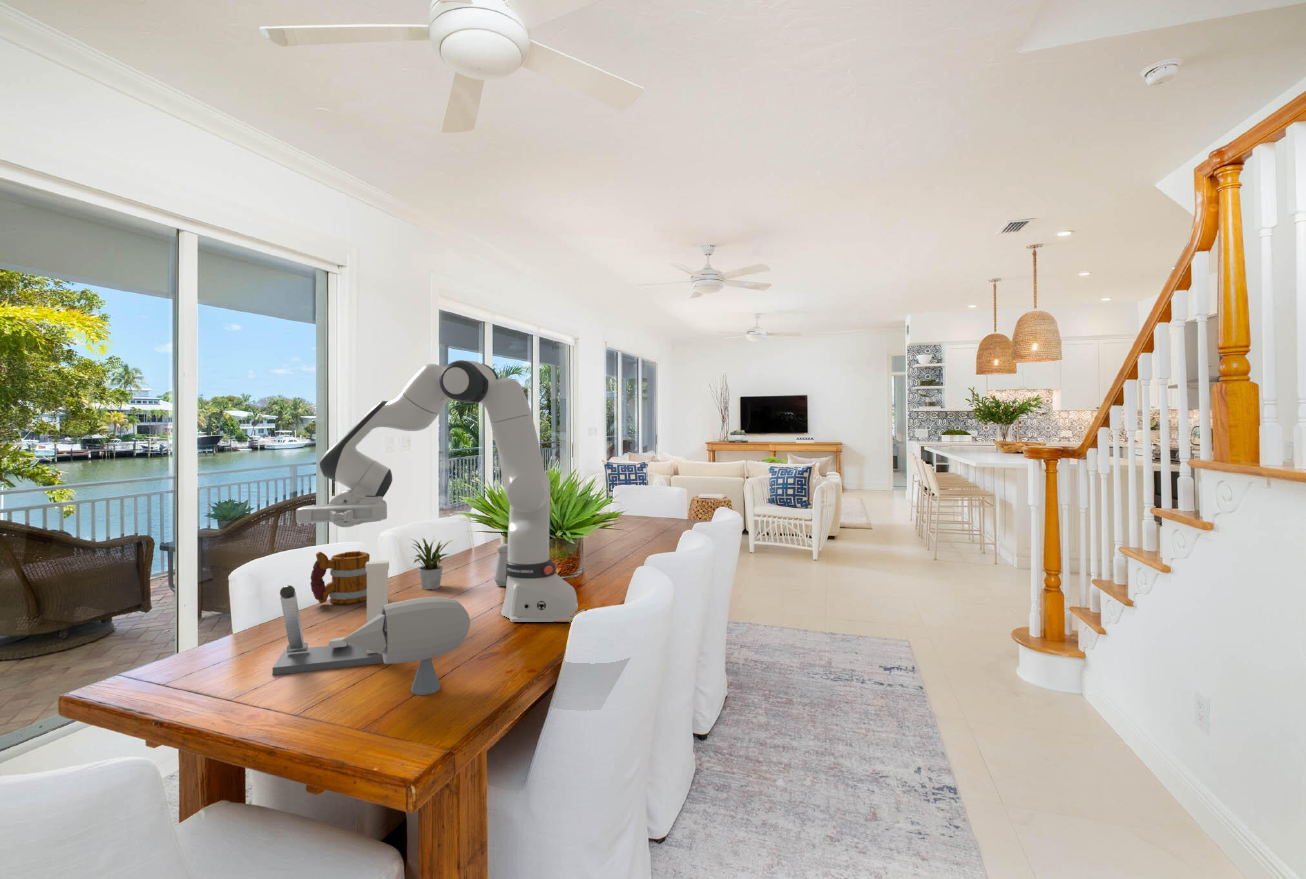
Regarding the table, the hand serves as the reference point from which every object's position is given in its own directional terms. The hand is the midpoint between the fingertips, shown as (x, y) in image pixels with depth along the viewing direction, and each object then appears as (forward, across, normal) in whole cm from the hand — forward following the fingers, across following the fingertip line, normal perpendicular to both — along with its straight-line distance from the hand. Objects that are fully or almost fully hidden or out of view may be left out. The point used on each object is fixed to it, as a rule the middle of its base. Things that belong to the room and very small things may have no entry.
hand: (339, 517), depth 143 cm
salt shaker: (-34, +42, +29) cm, 61 cm away
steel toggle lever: (+15, -6, +26) cm, 30 cm away
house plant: (-38, +19, +29) cm, 51 cm away
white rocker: (+15, +2, +26) cm, 30 cm away
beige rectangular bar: (+20, +10, +27) cm, 34 cm away
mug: (-30, -4, +28) cm, 42 cm away
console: (+17, +2, +28) cm, 33 cm away
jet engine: (+38, +17, +29) cm, 51 cm away
